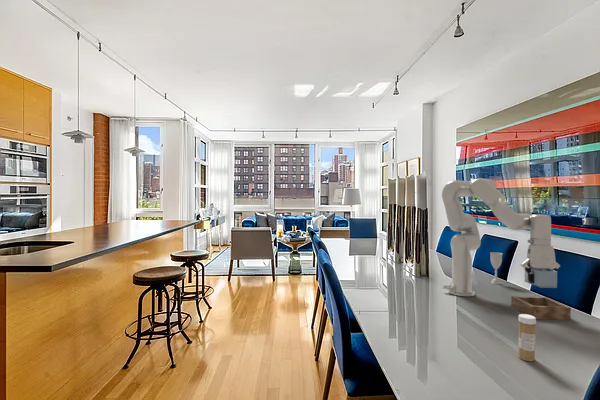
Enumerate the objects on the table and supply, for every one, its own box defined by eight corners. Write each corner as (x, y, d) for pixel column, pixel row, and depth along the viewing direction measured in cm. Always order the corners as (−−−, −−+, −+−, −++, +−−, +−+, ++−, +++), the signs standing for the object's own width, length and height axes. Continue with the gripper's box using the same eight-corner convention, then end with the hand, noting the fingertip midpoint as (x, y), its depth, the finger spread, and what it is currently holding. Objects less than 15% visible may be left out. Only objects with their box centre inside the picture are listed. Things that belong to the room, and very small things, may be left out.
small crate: (539, 287, 147) (540, 271, 147) (524, 281, 158) (524, 266, 158) (557, 287, 146) (557, 271, 146) (540, 281, 157) (540, 266, 157)
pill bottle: (519, 353, 112) (520, 312, 111) (536, 358, 108) (537, 315, 108) (516, 358, 108) (517, 315, 108) (533, 363, 105) (534, 319, 105)
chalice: (504, 285, 202) (504, 254, 201) (491, 284, 203) (492, 253, 203) (499, 282, 209) (500, 252, 209) (487, 281, 210) (488, 251, 210)
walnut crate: (531, 318, 145) (532, 306, 145) (511, 306, 161) (511, 296, 161) (570, 319, 144) (570, 307, 144) (546, 307, 160) (546, 297, 160)
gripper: (525, 243, 149) (524, 284, 149) (567, 243, 148) (566, 285, 148) (515, 241, 156) (515, 280, 156) (555, 241, 155) (555, 281, 155)
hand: (540, 282), depth 152 cm, fingers closed on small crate, 7 cm apart
